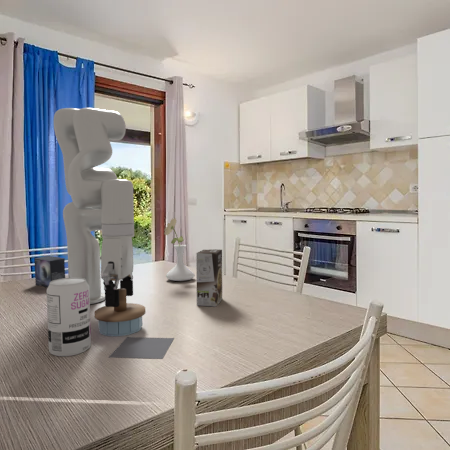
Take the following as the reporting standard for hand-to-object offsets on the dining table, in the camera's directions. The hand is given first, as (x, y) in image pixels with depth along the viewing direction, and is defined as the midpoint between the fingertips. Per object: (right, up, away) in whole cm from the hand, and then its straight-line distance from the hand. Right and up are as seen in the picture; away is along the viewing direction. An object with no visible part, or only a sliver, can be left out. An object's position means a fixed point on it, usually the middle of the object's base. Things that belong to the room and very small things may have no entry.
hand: (119, 300), depth 91 cm
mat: (+8, -8, -11) cm, 16 cm away
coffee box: (+21, -6, +25) cm, 33 cm away
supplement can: (-7, -8, -12) cm, 16 cm away
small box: (-40, -5, +50) cm, 64 cm away
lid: (0, -3, 0) cm, 3 cm away
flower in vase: (+7, -4, +57) cm, 58 cm away
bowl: (0, -7, 0) cm, 7 cm away
